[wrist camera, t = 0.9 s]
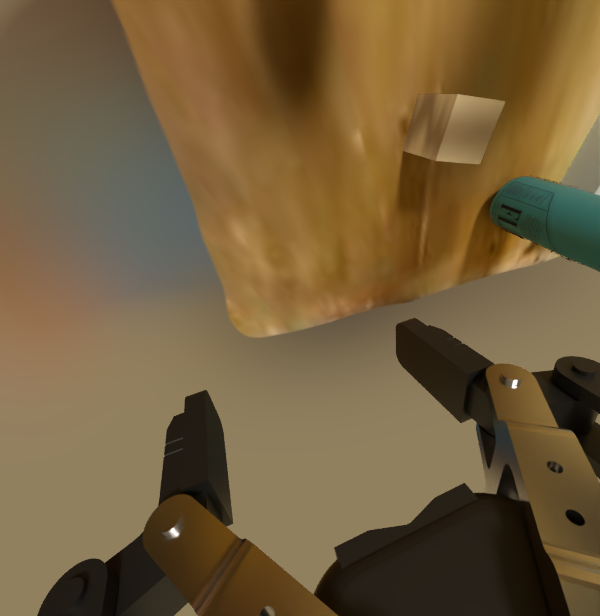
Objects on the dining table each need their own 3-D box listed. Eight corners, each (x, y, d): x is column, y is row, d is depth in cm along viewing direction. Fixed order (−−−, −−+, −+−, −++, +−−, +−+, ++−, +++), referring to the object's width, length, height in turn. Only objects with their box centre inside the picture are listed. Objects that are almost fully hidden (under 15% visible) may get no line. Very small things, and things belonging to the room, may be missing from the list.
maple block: (417, 94, 29) (457, 94, 24) (460, 100, 30) (505, 101, 25) (402, 150, 32) (435, 160, 27) (441, 154, 33) (479, 164, 28)
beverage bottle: (475, 192, 37) (671, 266, 21) (525, 159, 36) (771, 211, 20) (482, 232, 40) (652, 319, 25) (528, 203, 39) (734, 276, 24)
